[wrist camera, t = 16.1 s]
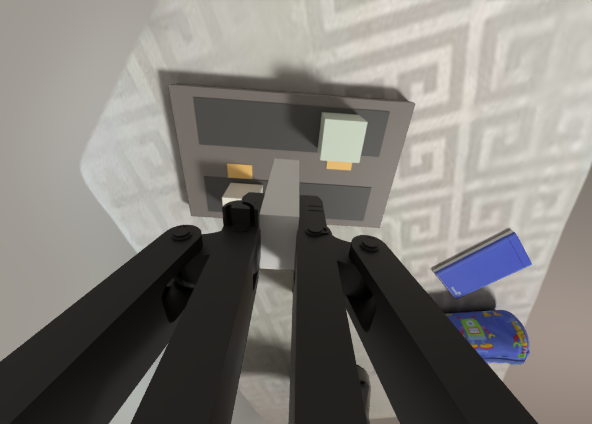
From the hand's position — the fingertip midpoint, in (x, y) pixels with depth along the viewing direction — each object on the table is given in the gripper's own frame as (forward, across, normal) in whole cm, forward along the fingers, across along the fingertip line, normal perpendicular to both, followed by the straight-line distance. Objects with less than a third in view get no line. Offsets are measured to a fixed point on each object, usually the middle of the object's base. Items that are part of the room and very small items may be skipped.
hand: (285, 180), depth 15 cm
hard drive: (+17, -32, +20) cm, 41 cm away
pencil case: (+17, -30, +33) cm, 48 cm away
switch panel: (+16, 0, +4) cm, 17 cm away
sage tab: (+14, -5, 0) cm, 15 cm away
